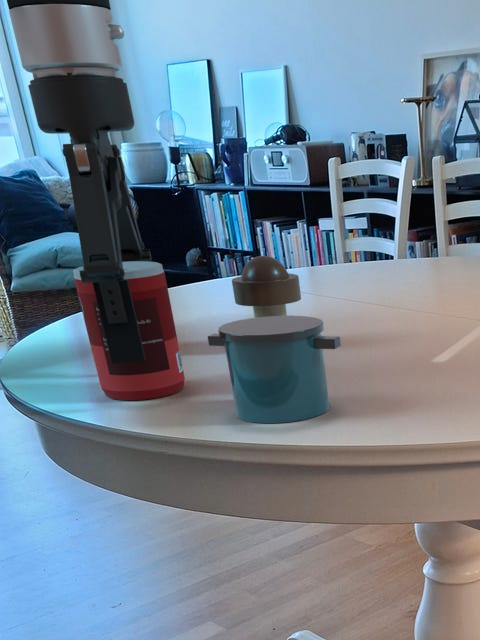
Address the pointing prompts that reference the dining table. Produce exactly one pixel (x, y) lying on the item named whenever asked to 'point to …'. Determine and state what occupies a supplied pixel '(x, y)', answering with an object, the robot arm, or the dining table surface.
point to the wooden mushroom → (266, 287)
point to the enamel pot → (276, 367)
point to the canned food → (156, 334)
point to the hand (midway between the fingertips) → (137, 347)
